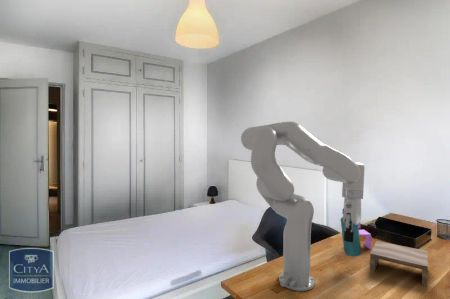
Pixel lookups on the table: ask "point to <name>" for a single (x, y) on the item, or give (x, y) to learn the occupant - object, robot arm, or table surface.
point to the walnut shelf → (400, 257)
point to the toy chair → (368, 236)
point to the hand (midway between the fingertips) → (350, 238)
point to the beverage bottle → (351, 247)
